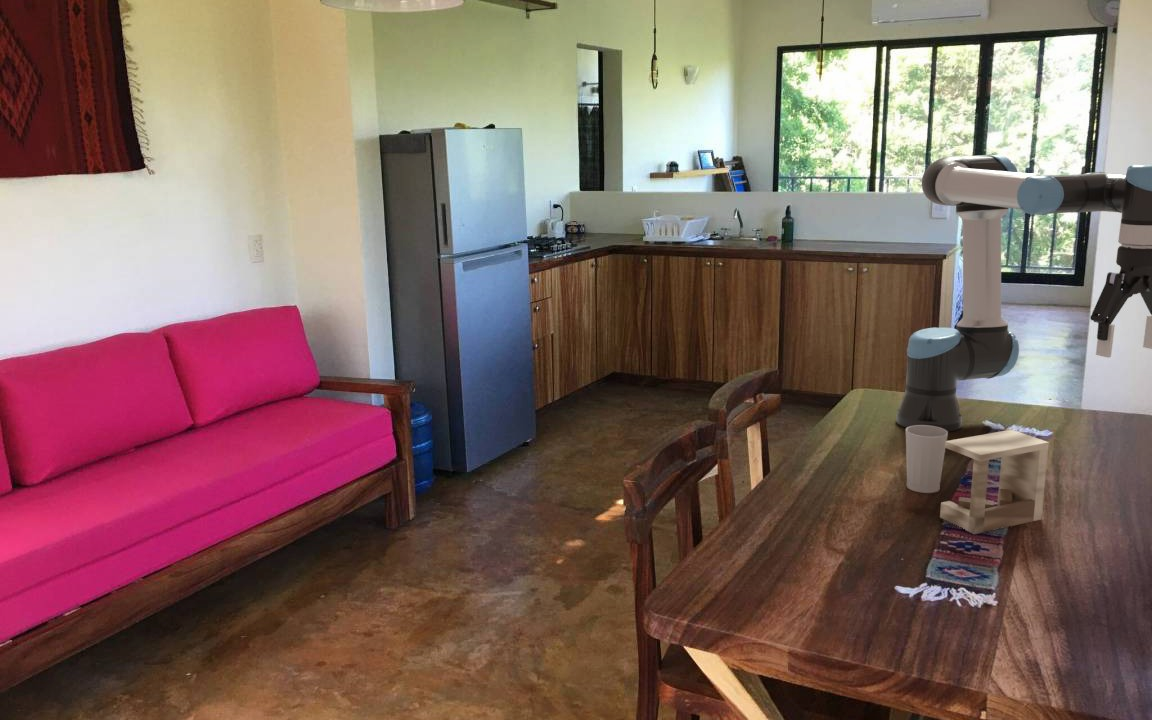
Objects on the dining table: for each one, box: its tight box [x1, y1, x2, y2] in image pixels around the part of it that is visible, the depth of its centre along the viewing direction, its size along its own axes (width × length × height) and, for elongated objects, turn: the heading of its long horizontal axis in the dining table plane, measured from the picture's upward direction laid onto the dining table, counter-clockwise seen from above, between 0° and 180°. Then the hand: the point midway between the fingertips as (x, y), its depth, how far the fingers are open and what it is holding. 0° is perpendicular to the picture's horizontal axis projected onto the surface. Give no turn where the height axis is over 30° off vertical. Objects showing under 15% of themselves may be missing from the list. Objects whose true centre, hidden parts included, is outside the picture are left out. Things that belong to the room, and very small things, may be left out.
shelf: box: [939, 429, 1050, 535], centre depth 172 cm, size 8×16×15 cm, turn 112°
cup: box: [905, 425, 949, 494], centre depth 188 cm, size 8×8×12 cm
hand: (1127, 352), depth 186 cm, fingers open, 13 cm apart
